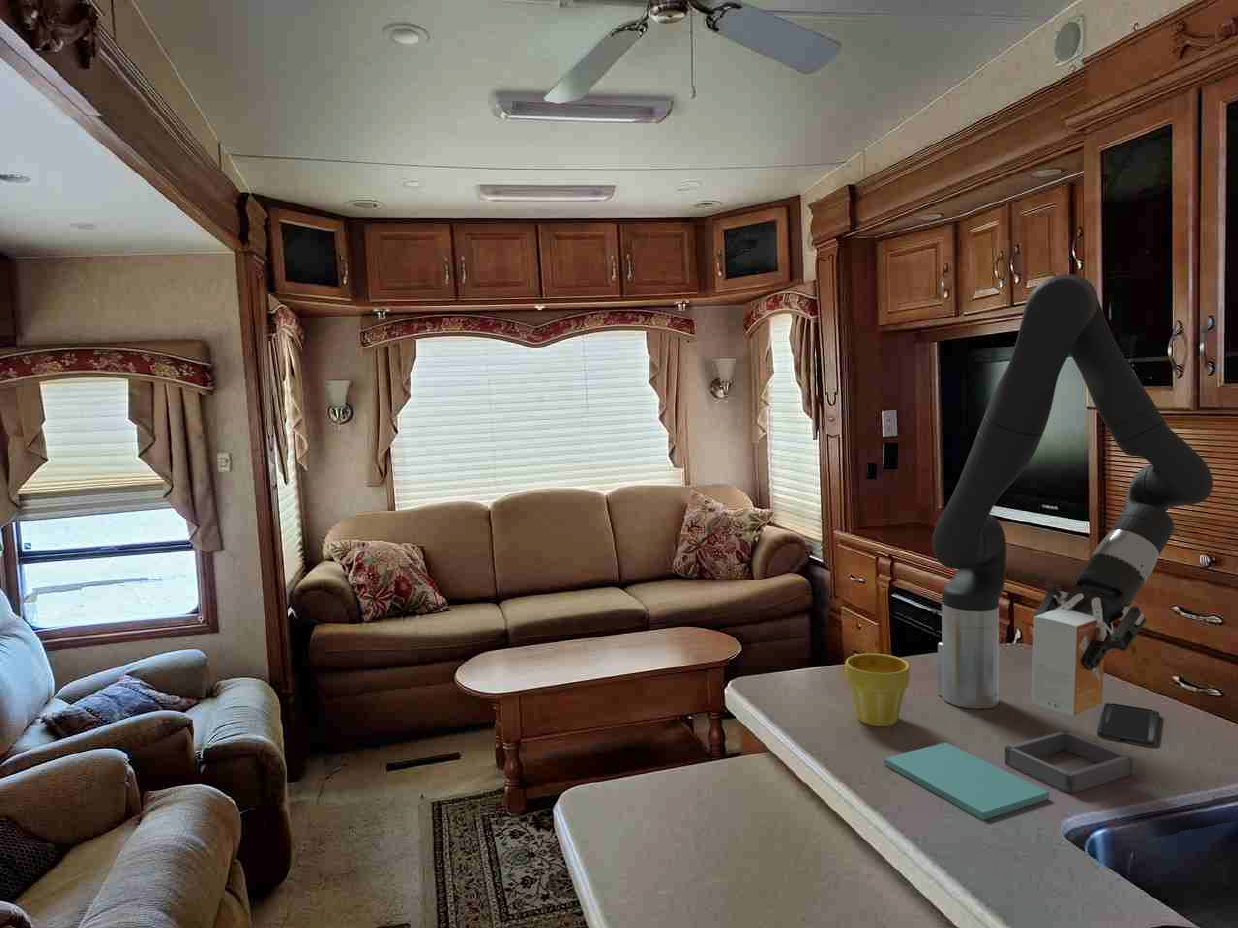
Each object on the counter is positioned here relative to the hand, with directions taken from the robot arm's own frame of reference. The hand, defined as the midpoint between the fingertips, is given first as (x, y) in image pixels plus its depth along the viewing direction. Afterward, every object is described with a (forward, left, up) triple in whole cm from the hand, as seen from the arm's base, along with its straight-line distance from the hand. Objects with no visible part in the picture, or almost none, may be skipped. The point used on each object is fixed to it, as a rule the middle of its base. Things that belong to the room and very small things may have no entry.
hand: (1061, 658), depth 116 cm
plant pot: (-27, -10, -17) cm, 33 cm away
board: (-4, -15, -16) cm, 22 cm away
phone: (-6, +23, -17) cm, 29 cm away
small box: (0, +2, -7) cm, 7 cm away
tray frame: (0, +1, -16) cm, 16 cm away
